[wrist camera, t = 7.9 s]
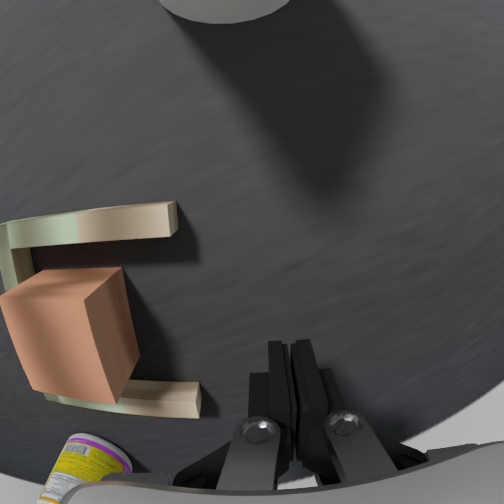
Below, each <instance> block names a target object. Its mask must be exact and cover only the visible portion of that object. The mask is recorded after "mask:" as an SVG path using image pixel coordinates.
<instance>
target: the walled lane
mask: <svg viewBox="0 0 504 504" xmlns="http://www.w3.org/2000/svg"><path fill="white" fill-rule="evenodd" d="M177 230H178V217H177V204H176V201H166V202H155V203H144V204H133V205H124V206H114V207H105V208H97V209H88V210H81V211H73V212H65V213H58V214H51V215H44V216H38V217H31V218H25V219H19V220H13V221H9V222H6V223H2V224H0V270H1V275H2V279H3V283H4V287H5V291H6V292H7V291H9V290H11V289H12V288H14V287H15V286H17V285H19V284H20V283H22V282H24V281H25V280H27V279H29V278H30V277H32V276H34V275H35V271H34V267H33V262H32V256H31V251H30V247H37V246H48V245H60V244H72V243H85V242H98V241H112V240H126V239H141V238H156V237H170V236H171V235H172V234H174V233H175V232H176V231H177ZM43 393H44V395H45V397H46V399H47V400H50V401H54V402H59V403H63V404H68V405H73V406H79V407H84V408H90V409H96V410H103V411H110V412H117V413H126V414H135V415H145V416H158V417H175V418H199V415H200V408H201V401H202V396H201V391H200V385H199V382H168V381H145V380H130V379H129V380H128V382H127V384H126V386H125V388H124V390H123V392H122V394H121V396H120V399H119V401H118V403H117V405H113V404H105V403H98V402H92V401H85V400H80V399H74V398H69V397H64V396H59V395H54V394H49V393H45V392H43Z"/></svg>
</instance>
